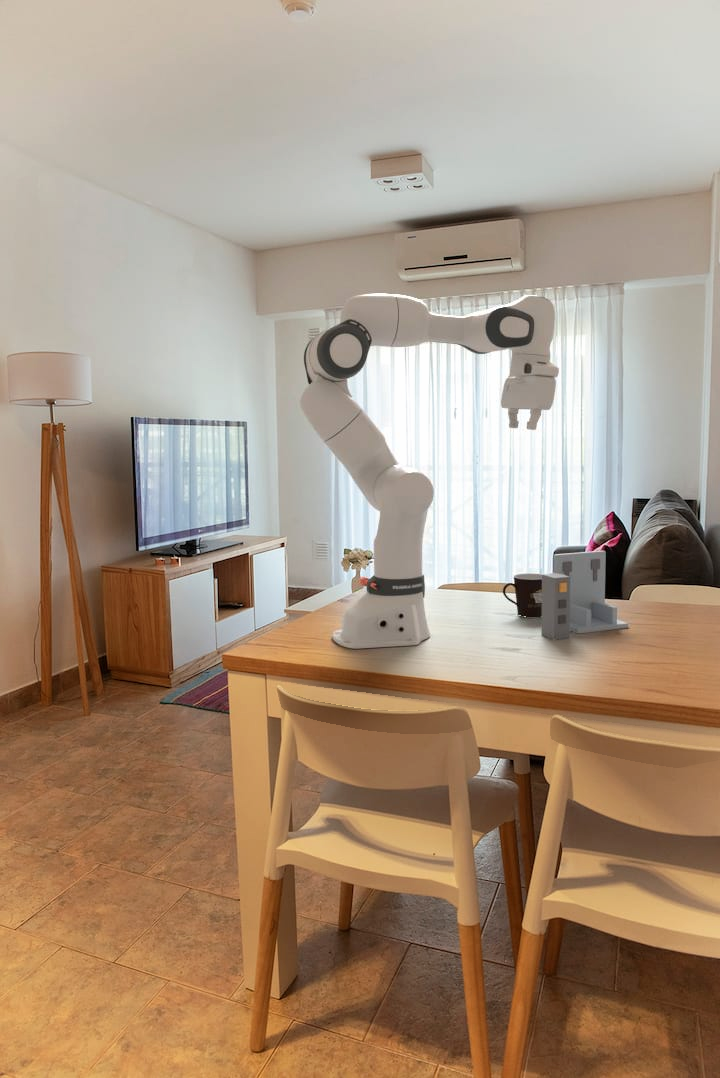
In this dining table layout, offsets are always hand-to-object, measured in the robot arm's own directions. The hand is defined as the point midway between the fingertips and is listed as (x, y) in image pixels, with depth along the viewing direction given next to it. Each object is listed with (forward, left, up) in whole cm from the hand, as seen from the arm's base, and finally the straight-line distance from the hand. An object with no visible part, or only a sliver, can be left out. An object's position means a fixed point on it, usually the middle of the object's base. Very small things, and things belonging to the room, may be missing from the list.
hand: (521, 428), depth 175 cm
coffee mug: (+5, +7, -47) cm, 48 cm away
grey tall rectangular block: (0, -14, -47) cm, 49 cm away
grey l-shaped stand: (+13, -9, -47) cm, 50 cm away
